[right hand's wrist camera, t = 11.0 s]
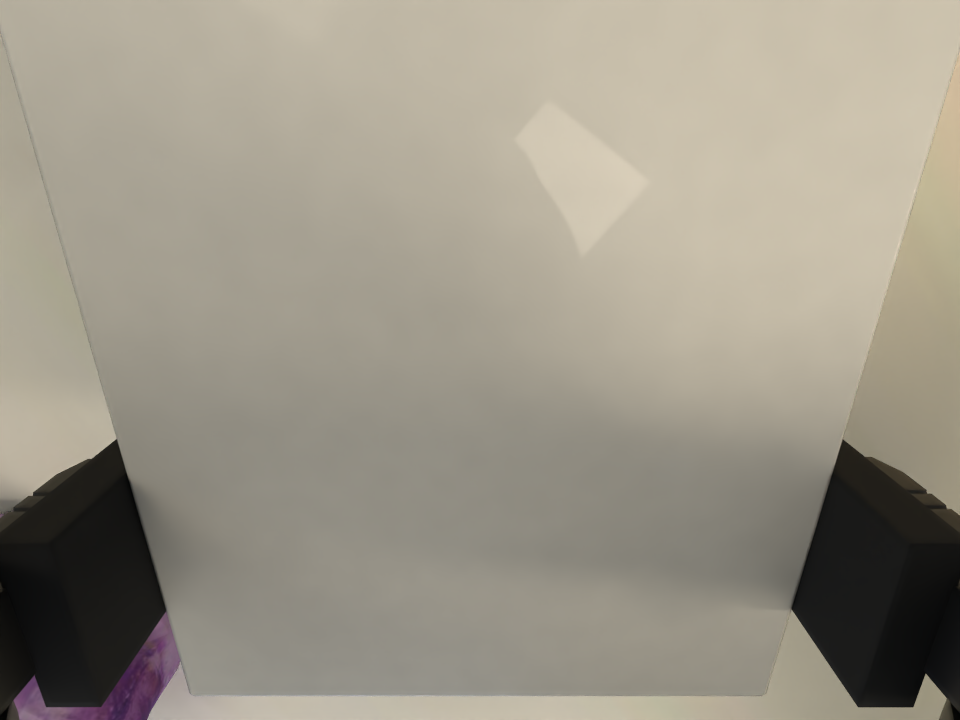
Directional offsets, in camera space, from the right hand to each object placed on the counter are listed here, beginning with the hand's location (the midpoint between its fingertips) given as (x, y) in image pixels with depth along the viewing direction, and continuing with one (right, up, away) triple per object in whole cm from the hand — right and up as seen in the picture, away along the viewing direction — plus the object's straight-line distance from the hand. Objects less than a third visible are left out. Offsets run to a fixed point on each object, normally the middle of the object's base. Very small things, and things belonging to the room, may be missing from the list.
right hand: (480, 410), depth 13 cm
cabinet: (0, +9, +2) cm, 9 cm away
